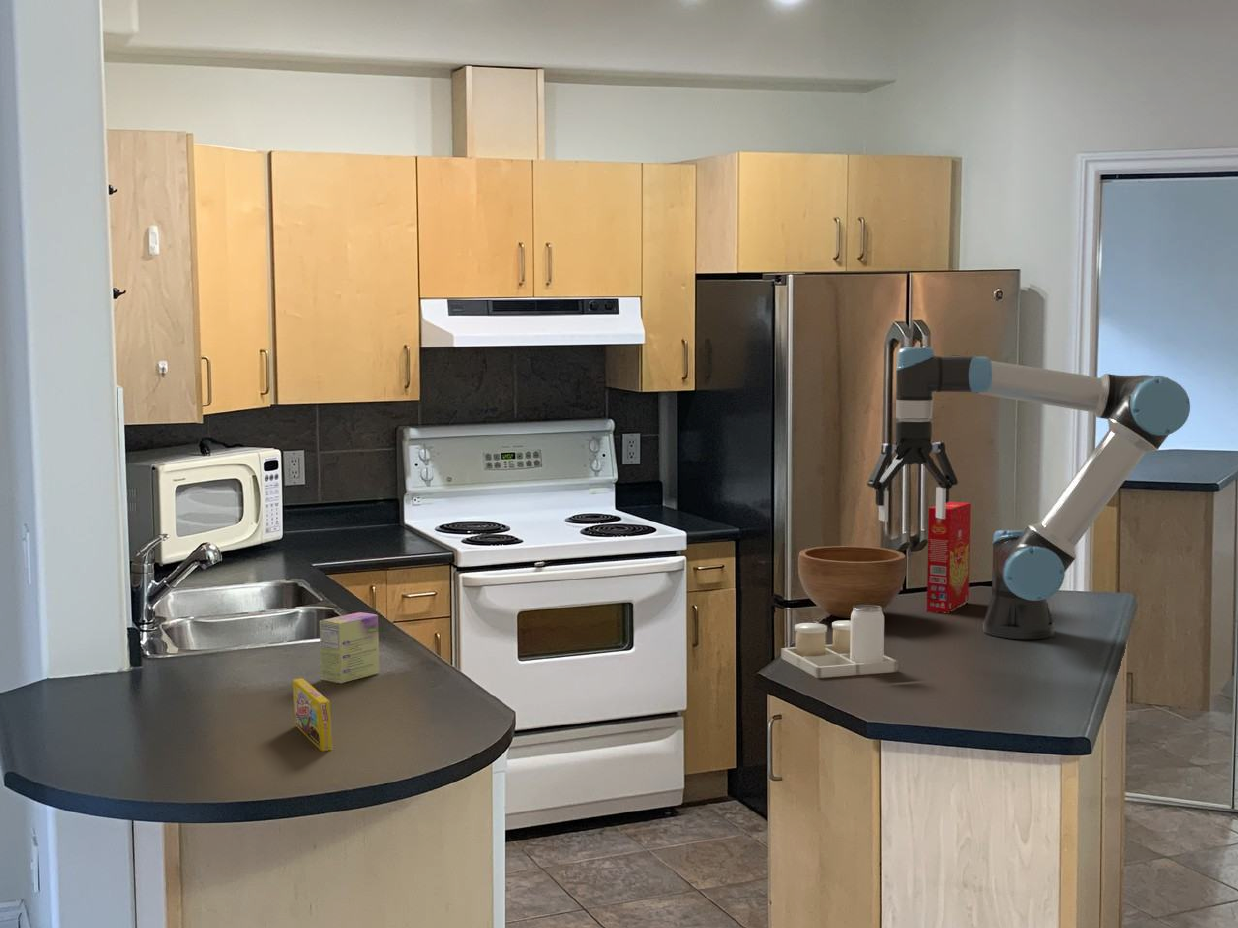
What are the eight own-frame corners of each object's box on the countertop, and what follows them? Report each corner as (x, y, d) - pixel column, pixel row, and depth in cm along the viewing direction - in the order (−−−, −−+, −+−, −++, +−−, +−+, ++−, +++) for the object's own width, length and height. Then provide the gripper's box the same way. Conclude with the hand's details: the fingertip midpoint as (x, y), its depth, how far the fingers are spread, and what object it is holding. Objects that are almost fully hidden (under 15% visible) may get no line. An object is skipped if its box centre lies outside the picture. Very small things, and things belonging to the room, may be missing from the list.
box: (359, 669, 269) (358, 610, 268) (380, 673, 266) (379, 614, 265) (319, 680, 261) (318, 619, 260) (340, 684, 257) (339, 623, 256)
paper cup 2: (854, 653, 280) (855, 619, 279) (868, 660, 274) (869, 625, 273) (826, 656, 278) (826, 621, 277) (840, 663, 272) (840, 627, 271)
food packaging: (947, 613, 322) (950, 509, 320) (926, 611, 325) (928, 507, 323) (968, 603, 335) (970, 503, 332) (947, 601, 338) (949, 501, 335)
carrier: (857, 653, 281) (857, 642, 281) (897, 673, 265) (897, 661, 265) (780, 659, 277) (781, 648, 276) (817, 679, 260) (817, 667, 260)
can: (849, 670, 266) (850, 610, 264) (850, 662, 272) (851, 603, 271) (883, 672, 264) (884, 611, 263) (883, 664, 271) (884, 605, 269)
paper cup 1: (818, 656, 277) (818, 621, 277) (831, 663, 271) (832, 628, 271) (789, 658, 276) (789, 623, 275) (802, 666, 270) (802, 630, 269)
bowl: (915, 628, 306) (916, 562, 304) (804, 628, 306) (804, 562, 305) (894, 607, 330) (895, 545, 329) (791, 606, 331) (792, 545, 329)
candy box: (293, 726, 230) (292, 679, 229) (305, 725, 231) (304, 677, 230) (319, 752, 216) (318, 701, 215) (333, 750, 217) (331, 699, 216)
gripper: (956, 418, 294) (954, 515, 296) (852, 420, 287) (850, 519, 289) (975, 420, 287) (973, 519, 289) (868, 422, 280) (867, 524, 282)
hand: (912, 519), depth 289 cm, fingers open, 13 cm apart
